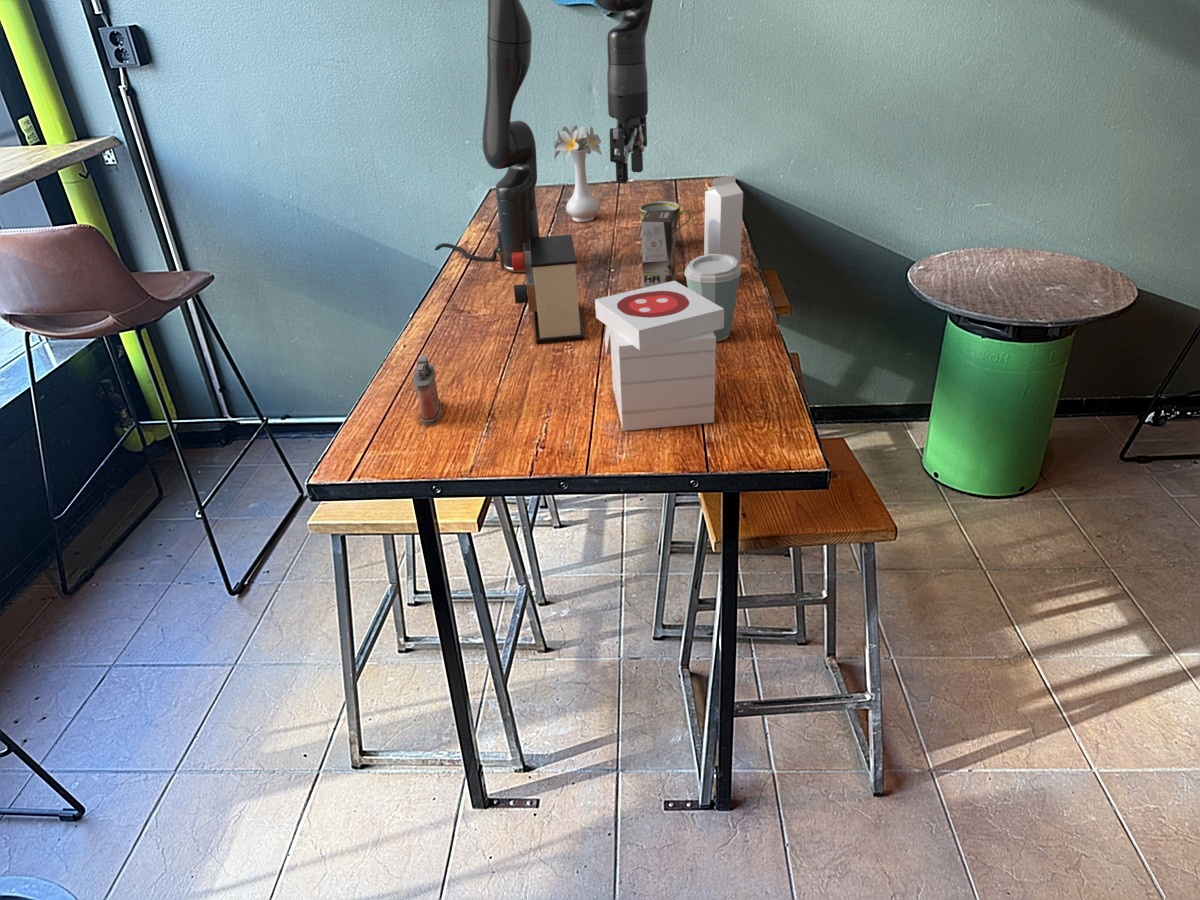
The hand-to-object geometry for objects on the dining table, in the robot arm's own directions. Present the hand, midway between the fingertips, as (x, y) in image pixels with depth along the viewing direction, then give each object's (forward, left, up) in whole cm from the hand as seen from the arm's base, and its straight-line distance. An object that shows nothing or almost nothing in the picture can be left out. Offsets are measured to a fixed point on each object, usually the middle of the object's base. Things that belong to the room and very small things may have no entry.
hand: (629, 177), depth 163 cm
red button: (-18, -16, -16) cm, 29 cm away
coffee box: (+1, +11, -27) cm, 29 cm away
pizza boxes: (+22, -34, -27) cm, 48 cm away
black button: (-13, -23, -20) cm, 33 cm away
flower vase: (-43, +51, -27) cm, 72 cm away
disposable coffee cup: (+22, -9, -27) cm, 36 cm away
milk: (+11, +23, -27) cm, 37 cm away
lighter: (-9, -57, -27) cm, 63 cm away
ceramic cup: (-10, +37, -27) cm, 47 cm away
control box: (-9, -16, -27) cm, 32 cm away
